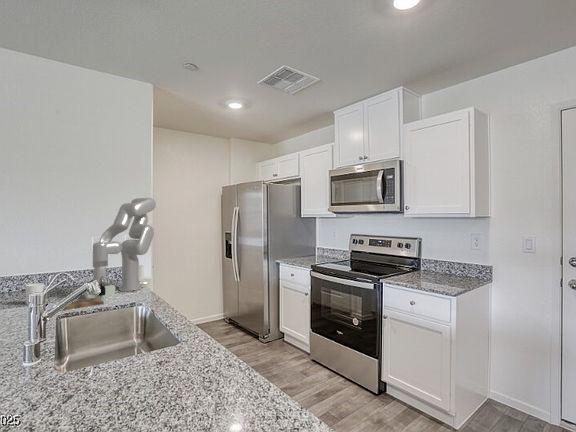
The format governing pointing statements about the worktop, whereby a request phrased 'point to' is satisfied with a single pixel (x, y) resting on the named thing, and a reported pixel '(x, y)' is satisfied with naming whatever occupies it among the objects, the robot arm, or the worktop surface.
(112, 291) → the housing
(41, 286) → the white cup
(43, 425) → the worktop surface
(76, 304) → the stub board
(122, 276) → the robot arm
